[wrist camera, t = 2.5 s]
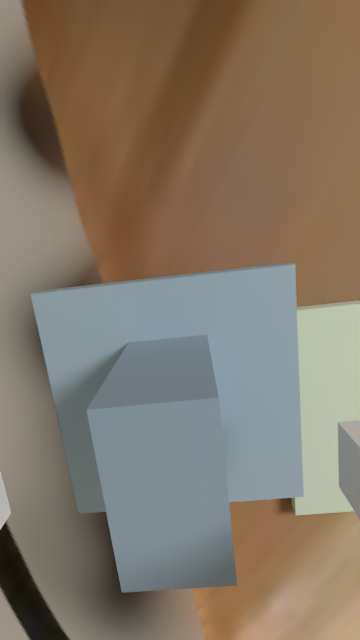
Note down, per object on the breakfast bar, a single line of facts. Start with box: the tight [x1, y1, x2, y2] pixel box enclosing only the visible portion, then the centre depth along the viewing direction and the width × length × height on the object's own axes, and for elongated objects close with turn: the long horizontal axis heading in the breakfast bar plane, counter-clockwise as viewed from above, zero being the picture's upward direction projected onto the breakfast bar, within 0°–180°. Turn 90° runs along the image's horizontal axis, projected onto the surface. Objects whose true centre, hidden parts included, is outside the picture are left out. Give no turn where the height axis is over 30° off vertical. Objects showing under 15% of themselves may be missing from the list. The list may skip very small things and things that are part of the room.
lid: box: [31, 263, 304, 592], centre depth 15 cm, size 13×13×8 cm
